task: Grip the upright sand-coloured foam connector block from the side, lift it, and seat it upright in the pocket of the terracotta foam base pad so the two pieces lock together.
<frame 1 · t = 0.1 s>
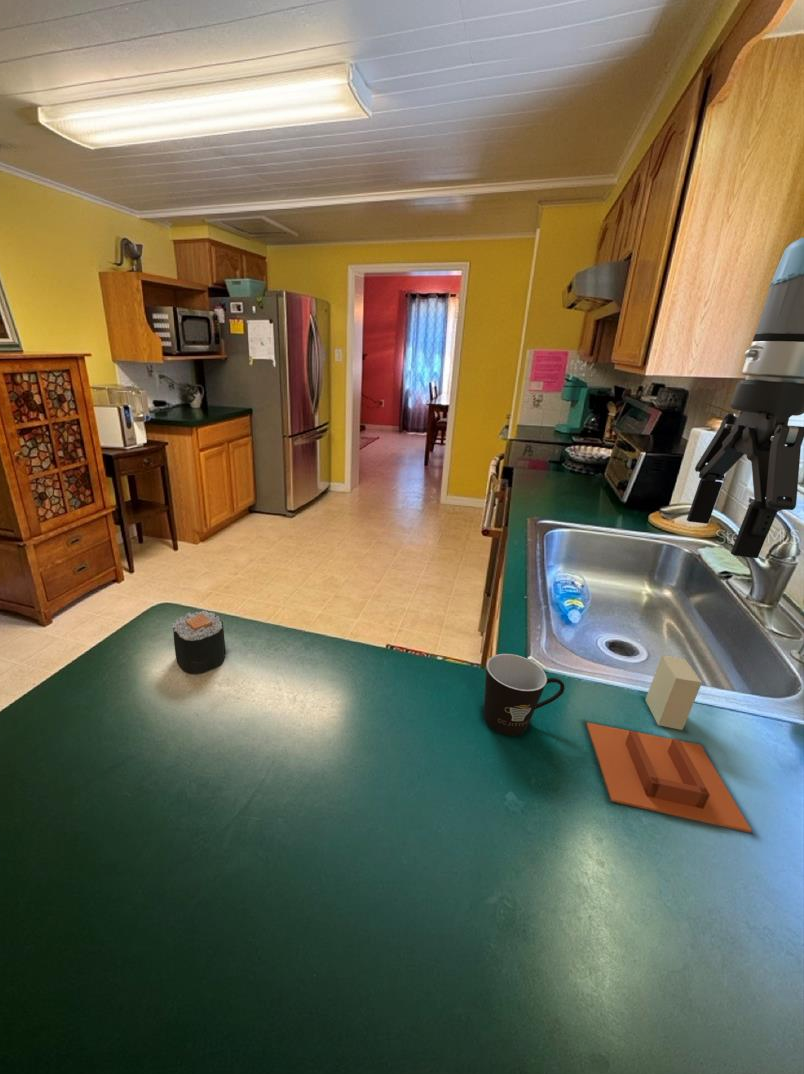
hand: (718, 537, 67), 31 cm above the kitchen counter, tool pointing down, fingers open, 13 cm apart
base pad: (657, 776, 66), on the kitchen counter
coffee mug: (513, 727, 73), on the kitchen counter
connector block: (661, 718, 77), on the kitchen counter
sushi: (200, 659, 84), on the kitchen counter
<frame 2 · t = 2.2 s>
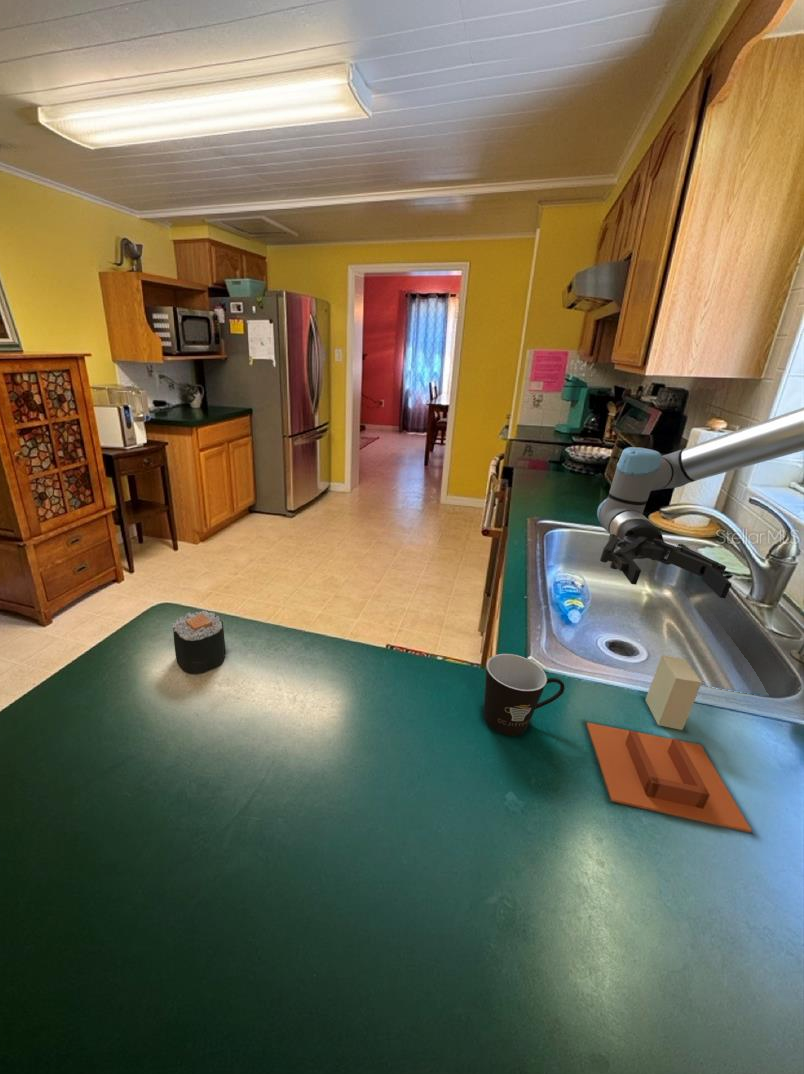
hand: (680, 584, 77), 20 cm above the kitchen counter, tool horizontal, fingers open, 13 cm apart
nothing on the kitchen counter moved.
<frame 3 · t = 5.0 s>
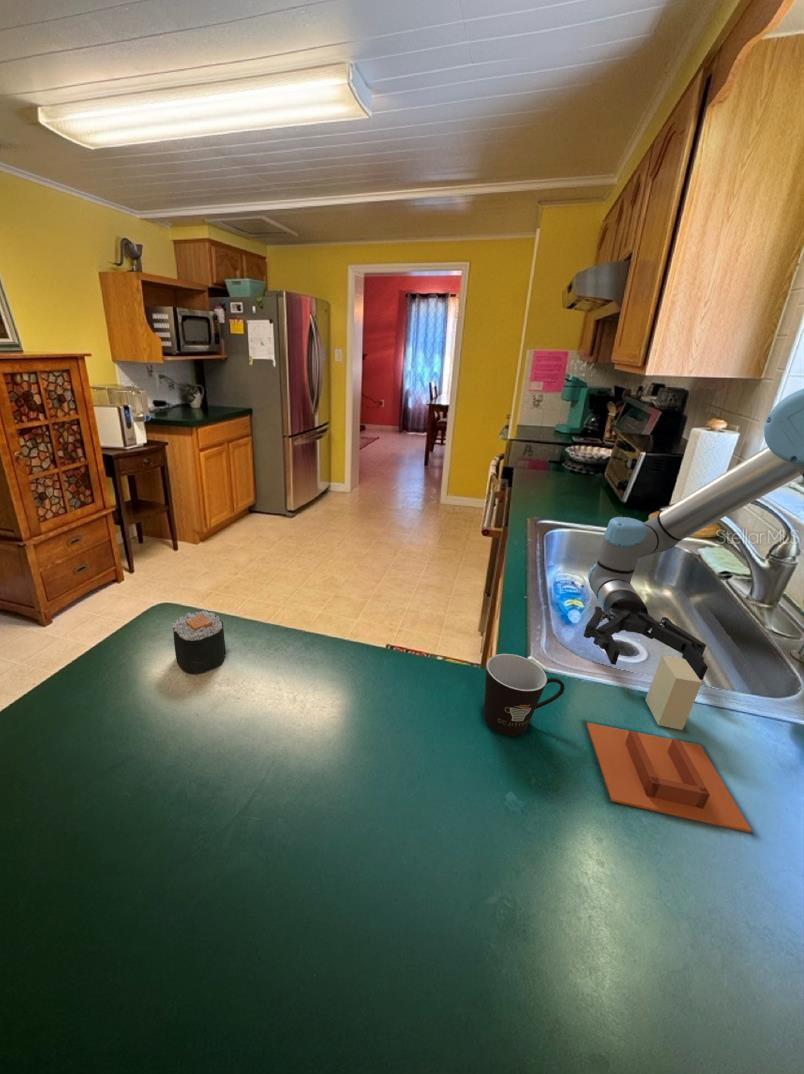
hand: (658, 665, 80), 6 cm above the kitchen counter, tool horizontal, fingers open, 13 cm apart
nothing on the kitchen counter moved.
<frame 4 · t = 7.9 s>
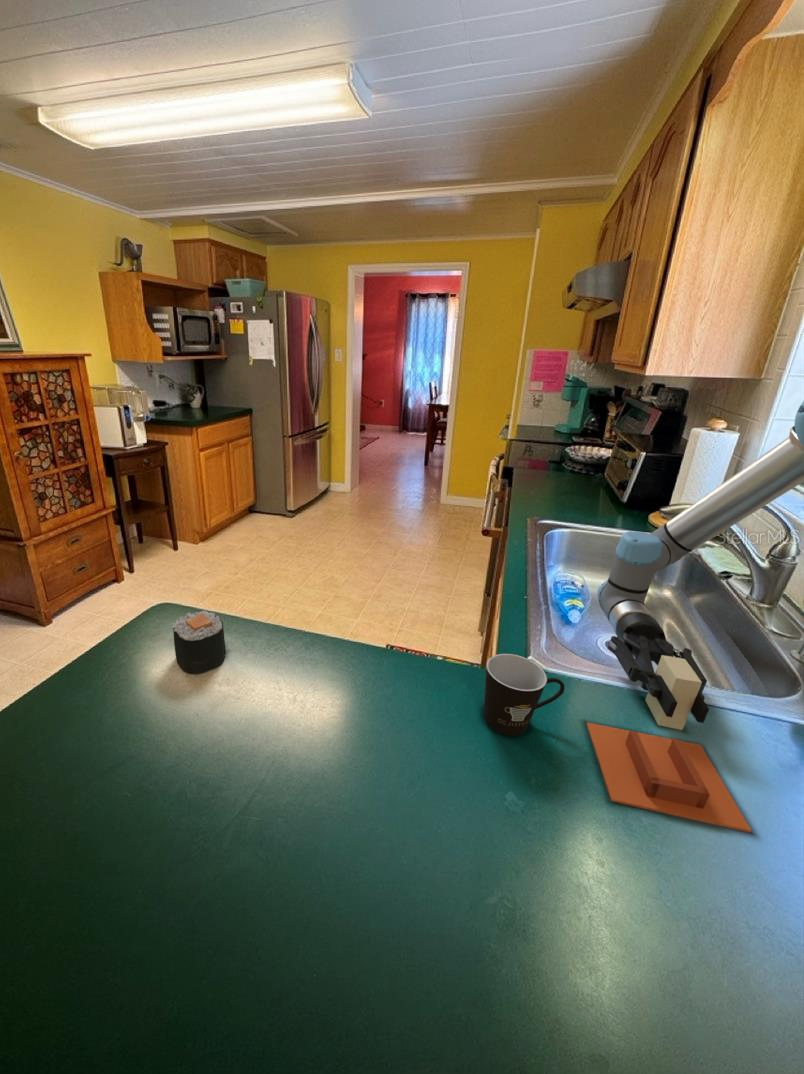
hand: (687, 712, 70), 6 cm above the kitchen counter, tool horizontal, fingers closed on connector block, 3 cm apart
connector block: (661, 718, 77), on the kitchen counter, touching gripper
everything else where it was.
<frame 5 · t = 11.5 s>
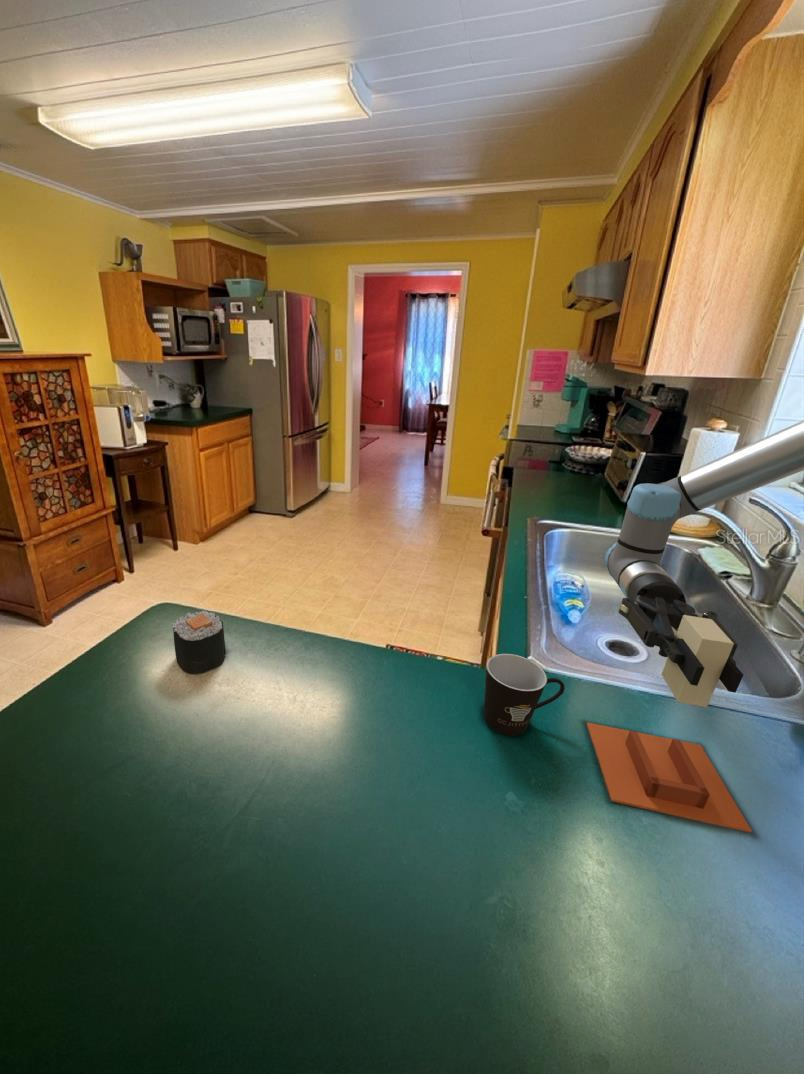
hand: (716, 679, 58), 18 cm above the kitchen counter, tool horizontal, fingers closed on connector block, 3 cm apart
connector block: (682, 690, 65), point 12 cm above the kitchen counter, touching gripper
everything else where it was.
when the fingers open (7 cm above the kitchen counter, at t = 15.2 s): connector block stays where it is, resting on base pad.
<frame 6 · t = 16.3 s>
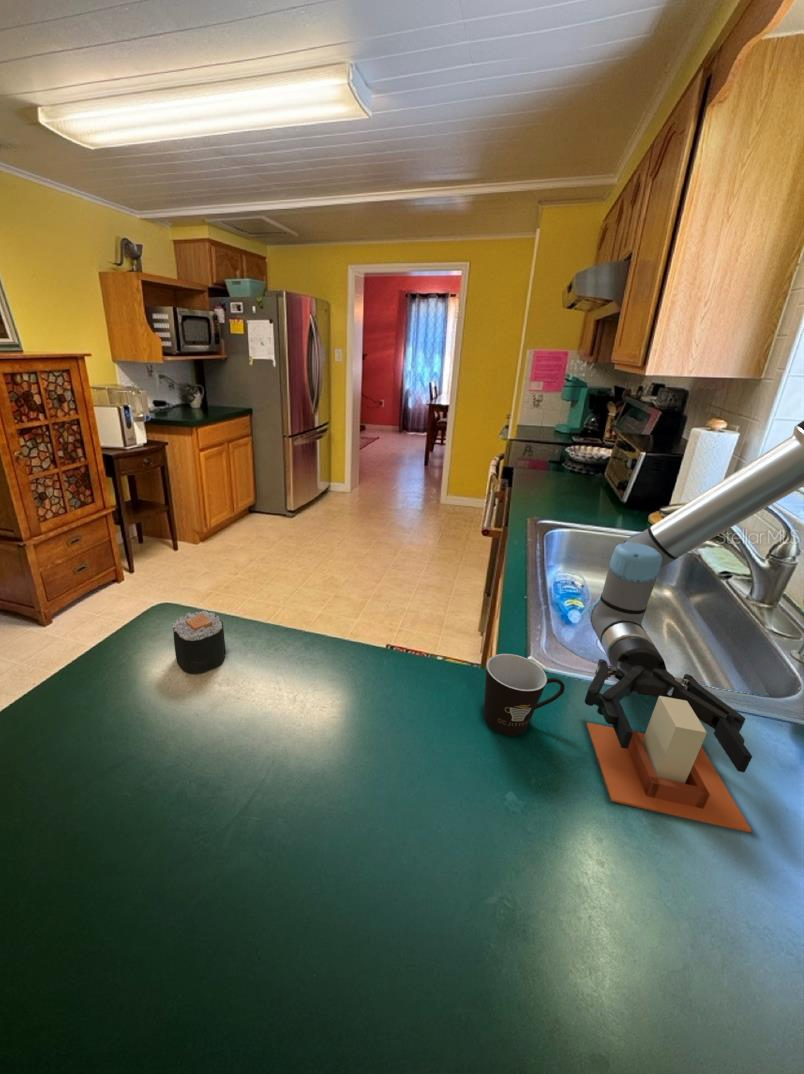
hand: (685, 752, 60), 8 cm above the kitchen counter, tool horizontal, fingers open, 13 cm apart
connector block: (659, 769, 65), point 1 cm above the kitchen counter, touching base pad
everything else where it was.
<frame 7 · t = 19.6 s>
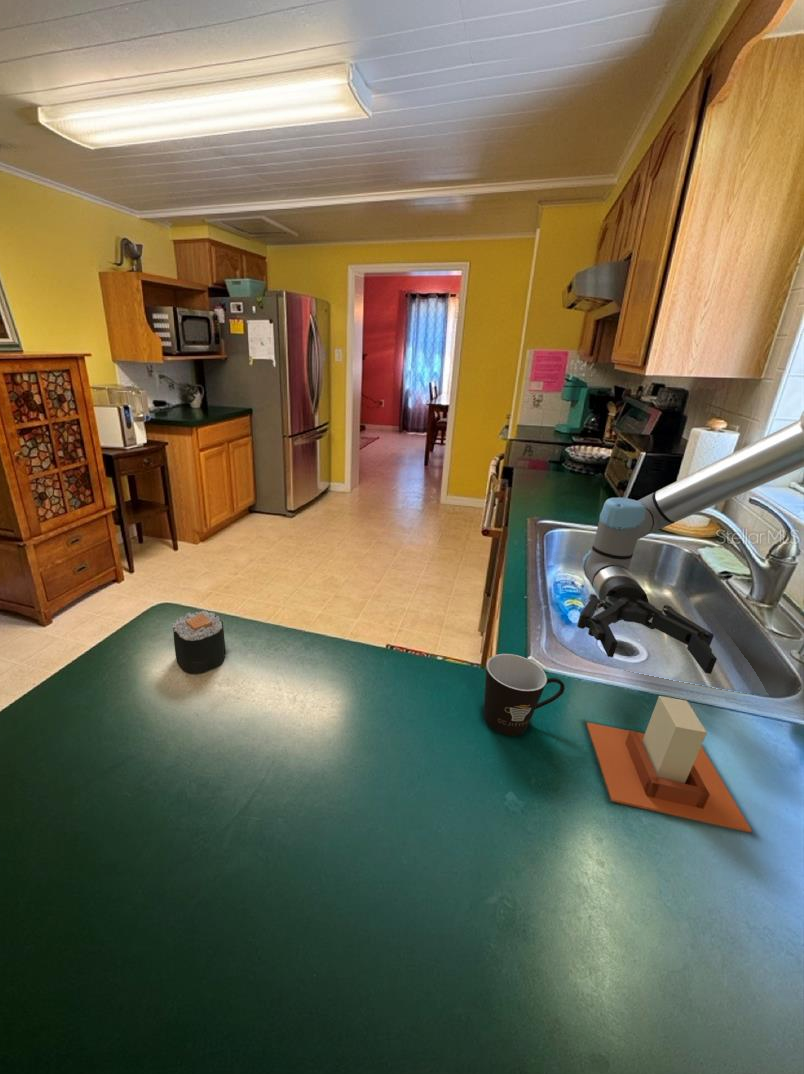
hand: (661, 657, 71), 12 cm above the kitchen counter, tool horizontal, fingers open, 13 cm apart
nothing on the kitchen counter moved.
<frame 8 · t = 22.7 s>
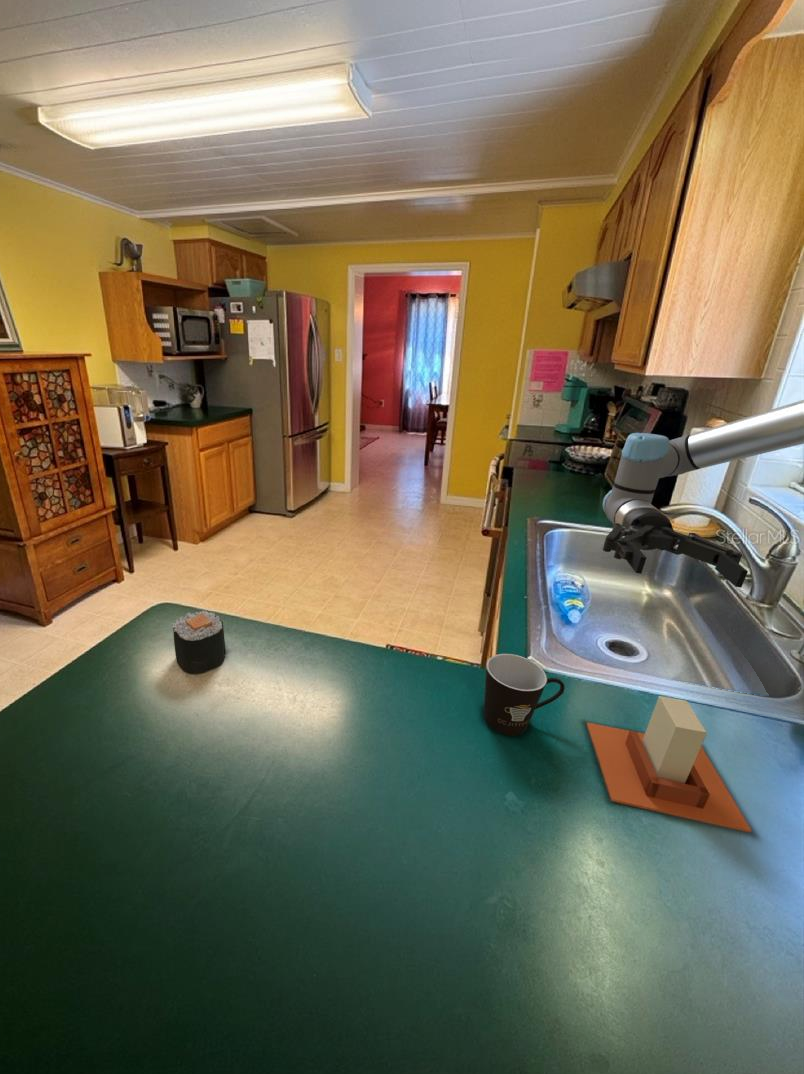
hand: (690, 572, 70), 25 cm above the kitchen counter, tool horizontal, fingers open, 13 cm apart
nothing on the kitchen counter moved.
at the end: connector block 0.1 cm off-centre on the base pad, point 1.2 cm above the base pad's base; connector block tilted 0°; the gripper is holding nothing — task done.
